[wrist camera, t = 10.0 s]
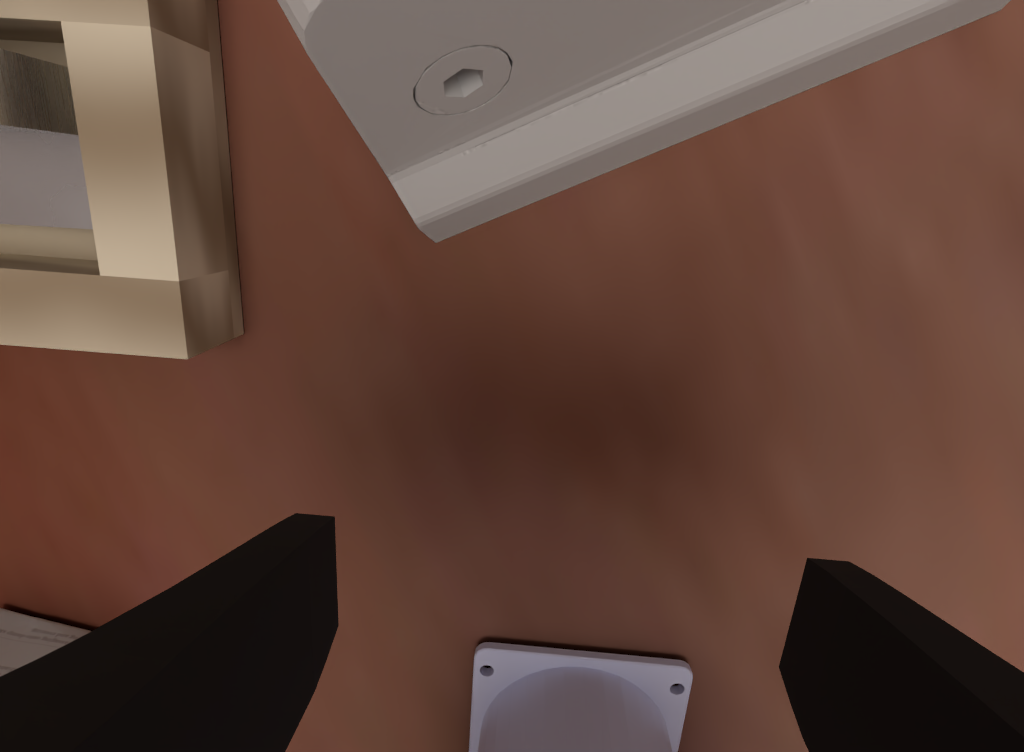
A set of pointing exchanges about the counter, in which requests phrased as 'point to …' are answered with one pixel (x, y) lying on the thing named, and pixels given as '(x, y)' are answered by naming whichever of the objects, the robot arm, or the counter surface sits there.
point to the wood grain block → (39, 146)
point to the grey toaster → (576, 81)
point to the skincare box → (30, 638)
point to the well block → (130, 185)
